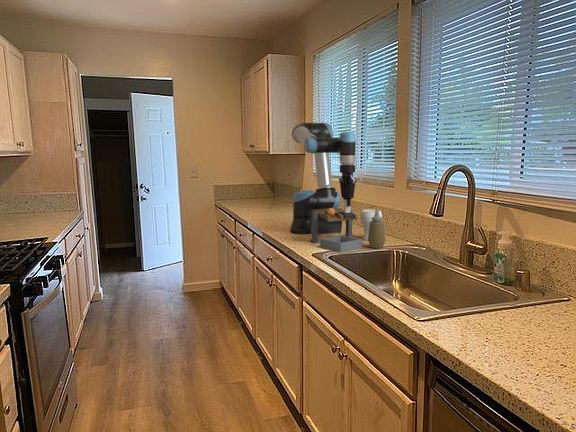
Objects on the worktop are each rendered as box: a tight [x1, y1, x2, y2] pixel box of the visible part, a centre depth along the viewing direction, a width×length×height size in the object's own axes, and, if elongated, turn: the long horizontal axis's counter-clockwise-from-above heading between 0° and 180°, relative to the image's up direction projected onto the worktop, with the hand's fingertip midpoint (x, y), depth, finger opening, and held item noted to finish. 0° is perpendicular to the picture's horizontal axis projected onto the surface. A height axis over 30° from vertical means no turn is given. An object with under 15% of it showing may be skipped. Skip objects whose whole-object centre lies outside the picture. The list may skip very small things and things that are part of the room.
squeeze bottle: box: [368, 208, 386, 249], centre depth 197 cm, size 8×8×18 cm
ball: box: [327, 208, 335, 216], centre depth 206 cm, size 4×4×4 cm
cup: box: [360, 209, 383, 242], centre depth 215 cm, size 11×11×15 cm
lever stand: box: [309, 208, 356, 244], centre depth 214 cm, size 5×24×16 cm, turn 112°
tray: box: [319, 234, 363, 253], centre depth 198 cm, size 14×14×4 cm
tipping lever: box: [311, 207, 358, 236], centre depth 212 cm, size 18×16×14 cm
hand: (347, 212), depth 207 cm, fingers closed
